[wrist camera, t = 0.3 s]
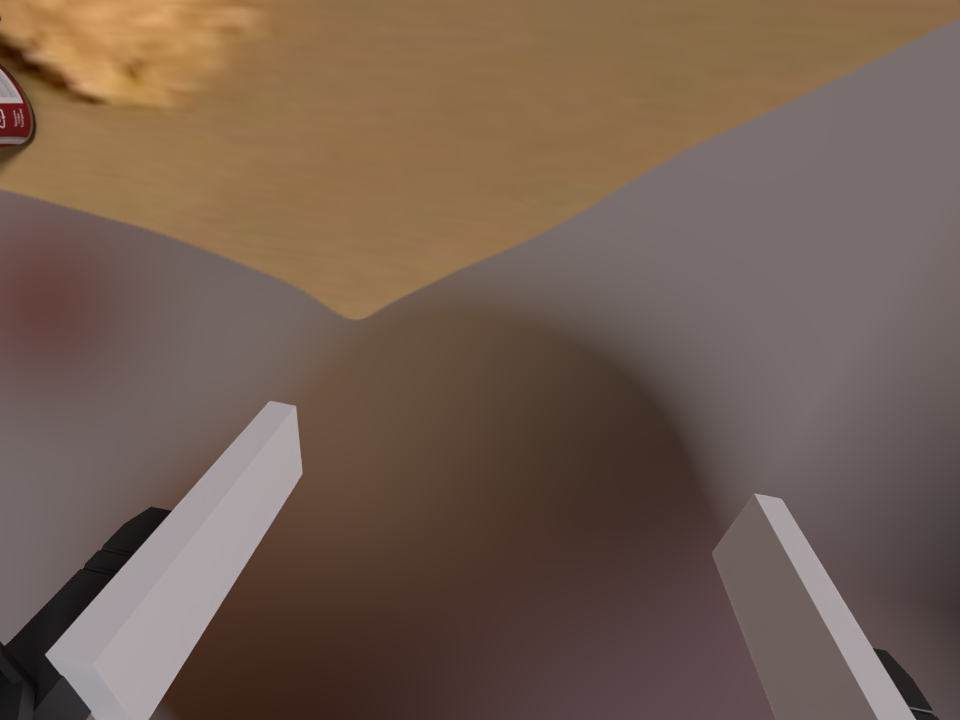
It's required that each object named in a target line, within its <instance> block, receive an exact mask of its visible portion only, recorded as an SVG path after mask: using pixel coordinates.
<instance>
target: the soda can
mask: <svg viewBox="0 0 960 720" xmlns="http://www.w3.org/2000/svg"><path fill="white" fill-rule="evenodd" d="M32 130H33V115H32V111H31V107H30V105H29V102H28V100H27V98H26V96H25V94H24V92H23V90H22V89H21V87H20V86H19V84H18V83H17V81H16V80H15V79H14V78H13V76H12V75H11V74H10V73H9V72H8V71H7V70H6V69H5V68H4V67H3V66H2V65H1V64H0V147H5V146H15V145H20V144H22V143H24V142H26V141H27V140H28V139H29V137H30V136H31V134H32Z"/></svg>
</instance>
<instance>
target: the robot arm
mask: <svg viewBox="0 0 960 720" xmlns="http://www.w3.org/2000/svg"><path fill="white" fill-rule="evenodd" d="M302 474H303V473H302V463H301V454H300V443H299V432H298V421H297V411H296V406H294V405H289V404H284V403H279V402H274V401H269V402H268V403H267V405H266V406H265V407H264V408H263V409H262V410H261V411H260V412H259V414H258V415H257V416H256V417H255V418H254V419H253V420H252V421H251V423H250V424H249V425H248V426H247V427H246V428H245V429H244V431H243V432H242V433H241V434H240V435H239V436H238V437H237V438H236V440H235V441H234V442H233V443H232V444H231V445H230V446H229V447H228V449H227V450H226V451H225V452H224V453H223V454H222V456H221V457H220V458H219V459H218V460H217V461H216V462H215V463H214V464H213V466H212V467H211V468H210V469H209V470H208V471H207V472H206V474H205V475H204V476H203V477H202V478H201V479H200V480H199V481H198V483H197V484H196V485H195V486H194V487H193V488H192V489H191V491H190V492H189V493H188V494H187V495H186V496H185V497H184V498H183V500H182V501H181V502H180V503H179V504H178V505H177V506H176V507H175V508H174V510H173V511H169V510H164V509H159V508H154V507H150V508H149V509H147V510H145V511H144V512H142V513H141V514H139V515H138V516H136V517H134V518H133V519H131V520H130V521H128V522H126V523H125V524H124V525H123V526H122V527H121V528H120V529H119V530H118V531H117V532H116V533H115V534H114V535H113V536H112V537H111V538H110V539H109V540H108V541H107V542H106V543H105V544H104V545H103V548H102V550H100V551H97V552H96V553H95V554H94V555H93V556H92V558H91V559H90V560H89V561H88V562H87V563H86V564H85V566H84V568H83V569H80V570H79V571H78V572H77V573H76V574H75V575H74V576H73V577H72V578H71V579H70V580H69V581H68V582H67V583H66V585H64V586H63V587H62V588H61V590H59V592H57V594H56V595H55V596H54V597H53V598H52V599H51V600H50V601H49V602H48V603H47V604H46V605H45V606H44V607H43V608H42V609H41V610H40V611H39V612H38V613H37V614H36V615H35V616H34V617H33V618H32V619H31V620H30V621H29V622H28V623H27V624H26V625H25V626H24V628H23V629H22V630H21V631H20V632H19V633H18V634H17V635H16V636H15V637H14V638H13V639H12V640H11V641H10V642H9V643H8V644H6V645H5V646H4V645H3V644H2V643H1V642H0V720H86V718H87V717H88V716H89V714H90V713H91V714H92V715H93V716H94V718H95V719H96V720H148V719H149V718H150V716H151V715H152V713H153V711H154V710H155V708H156V707H157V705H158V703H159V702H160V700H161V699H162V697H163V696H164V694H165V692H166V691H167V689H168V687H169V686H170V684H171V683H172V681H173V680H174V678H175V676H176V675H177V673H178V672H179V670H180V668H181V667H182V665H183V663H184V662H185V660H186V659H187V657H188V656H189V654H190V652H191V651H192V649H193V648H194V646H195V644H196V643H197V641H198V640H199V638H200V636H201V635H202V633H203V632H204V630H205V628H206V627H207V625H208V624H209V622H210V620H211V619H212V617H213V616H214V614H215V612H216V611H217V609H218V608H219V606H220V605H221V603H222V601H223V600H224V598H225V596H226V595H227V593H228V592H229V590H230V589H231V587H232V585H233V584H234V582H235V581H236V579H237V577H238V575H239V574H240V572H241V571H242V569H243V568H244V566H245V565H246V563H247V561H248V560H249V558H250V556H251V555H252V553H253V552H254V550H255V549H256V547H257V545H258V544H259V542H260V540H261V539H262V537H263V536H264V534H265V533H266V531H267V529H268V528H269V526H270V525H271V523H272V521H273V520H274V518H275V517H276V515H277V514H278V512H279V510H280V509H281V507H282V505H283V504H284V502H285V501H286V499H287V498H288V496H289V494H290V493H291V491H292V490H293V488H294V486H295V485H296V483H297V481H298V480H299V478H300V476H301V475H302ZM712 555H713V558H714V560H715V563H716V566H717V568H718V571H719V573H720V576H721V579H722V581H723V584H724V586H725V589H726V591H727V594H728V597H729V599H730V602H731V604H732V607H733V610H734V612H735V615H736V618H737V620H738V623H739V625H740V628H741V630H742V633H743V636H744V639H745V641H746V644H747V646H748V649H749V651H750V654H751V657H752V659H753V662H754V665H755V667H756V670H757V672H758V675H759V678H760V680H761V683H762V685H763V688H764V690H765V693H766V696H767V698H768V701H769V704H770V706H771V709H772V711H773V714H774V717H775V719H776V720H939V719H938V718H937V717H935V716H934V715H933V713H932V711H933V710H932V708H931V707H930V705H929V704H928V702H927V701H926V699H925V697H924V696H923V694H922V693H921V691H920V690H919V688H918V687H917V685H916V683H915V682H914V681H913V679H912V678H911V677H910V676H909V675H908V674H907V673H906V671H905V670H904V669H903V668H902V667H901V666H900V665H899V664H898V663H897V662H896V661H895V660H894V659H893V657H891V655H890V654H889V653H888V652H887V651H885V650H880V649H875V648H872V647H871V645H870V643H869V642H868V640H867V638H866V637H865V635H864V634H863V632H862V630H861V629H860V627H859V625H858V624H857V622H856V620H855V619H854V617H853V616H852V614H851V612H850V611H849V609H848V607H847V606H846V604H845V603H844V601H843V599H842V597H841V596H840V594H839V593H838V591H837V589H836V588H835V586H834V584H833V583H832V581H831V580H830V578H829V576H828V574H827V573H826V571H825V570H824V568H823V566H822V565H821V563H820V561H819V560H818V558H817V557H816V555H815V553H814V552H813V550H812V548H811V547H810V545H809V544H808V542H807V540H806V538H805V537H804V535H803V534H802V532H801V530H800V529H799V527H798V525H797V524H796V522H795V520H794V519H793V517H792V515H791V514H790V512H789V511H788V509H787V507H786V506H785V504H784V502H783V501H782V499H780V498H774V497H770V496H764V495H759V494H753V496H752V497H751V498H750V500H749V502H748V503H747V504H746V506H745V507H744V508H743V510H742V511H741V513H740V514H739V515H738V517H737V518H736V520H735V521H734V522H733V524H732V526H731V527H730V528H729V530H728V531H727V532H726V534H725V535H724V537H723V538H722V540H721V541H720V542H719V544H718V545H717V547H716V548H715V550H714V551H713V552H712Z"/></svg>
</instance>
